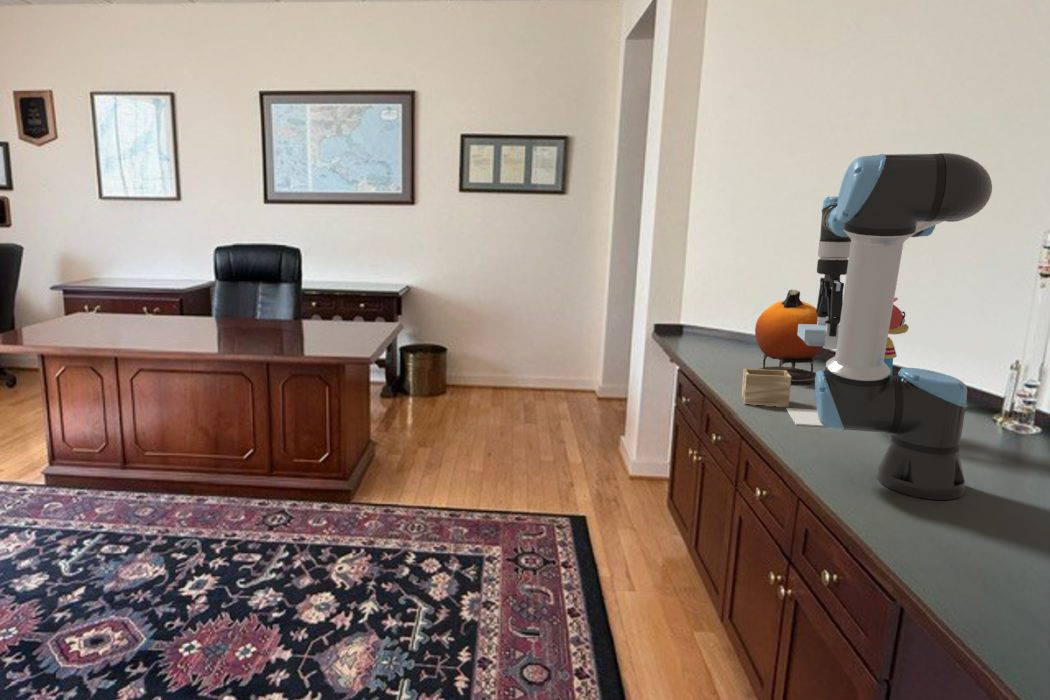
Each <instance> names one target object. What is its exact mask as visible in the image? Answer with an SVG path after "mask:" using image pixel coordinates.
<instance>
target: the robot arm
mask: <svg viewBox="0 0 1050 700" xmlns="http://www.w3.org/2000/svg"><path fill="white" fill-rule="evenodd" d="M992 192H993V184H992V179H991V177H990V174H989V172H988V170H987V169H985V167H984V166H983V165H981V164H980V163H979V162H978V161H976V160H975V159H972V158H970V157H969V156H965V155H961V154H958V153H950V152H940V153H910V154H909V153H907V154H905V153H901V154H896V153H895V154H889V153H888V154H884V153H881V154H875V155H864V156H859V157H857V158H855V159H854V160H853V161H852V162H851V163H850V164H849V166H848V167H847V169H846V171H845V173H844V176H843V179H842V181H841V185H840V188H839V192H838V195H837V196H827V197H825V198H823V202H822V203H823V204H822V208H821V220H820V221H821V223H820V233H819V234H820V236H819V241H818V251H817V257H819V259H818V260H817V265H816V273H817V274H819V275H824V277H820V280H819V283H820V284H819V290H818V291H819V292H818V298H817V305H816V308H817V310H816V313H818V314H817V315H818V321H817V325H826V335H825V345H824V347H823V348H824V349H825V350H826V349H827V350H828V349H829V350H835V355H834V356H833V357H831V358H829V359H828V360H827V361H826V363H825V367H824V368H825V369H823V370H822V369H821V370H817V371H816V372H815V373H816V376H815V383H814V390H815V392H814V394H815V404H816V410H817V413H818V418H819V421H820V422H821V424H822V425H823V426H825V428H830V429H837V430H838V429H839V430H842V431H846V430H847V431H857V432H859V431H860V432H867V433H868V432H870V433H882V434H883V433H884V434H885V433H886V434H891V439H890V444H888V448H887V449H886V452H885V453H884V455H883V457H882V458H881V461H880V462H879V464H878V467H877V472H876V478H877V480H878V482H879V483H880V484H882V485H883V486H885V487H886V488H888V489H890V490H892V491H895V492H898V493H901V494H903V495H906V496H911V497H913V498H914V497H915V498H920V499H924V500H925V499H927V500H933V501H934V500H936V501H949V500H956V499H959V498H962V497H963V496H964V494H965V489H966V479H965V476H964V470H963V466H962V463H961V459H960V447H961V446H960V445H961V440H962V432H963V427H964V419H965V414H966V409H967V408H968V403H967V401H968V400H967V398H968V397H967V396H968V387H967V386H966V384H965V383H964V382H963V381H962V380H961V379H959V378H957V377H954V376H951V375H948V374H946V373H943V372H942V373H941V372H938V371H934V370H929V369H923V368H917V367H902V368H900V370H899V371H898V373H897V375H893V374H892V375H890V374H891V370H890V368H889V367H888V366H887V365H886V364H885V363H884V356H885V350H886V344H887V338H888V337H889V334H888V332H889V326H890V320H891V314H892V309H893V305H894V303H895V302H894V298H896V295H895V294H896V290H897V285H898V277H899V273H900V266H901V261H902V256H903V255H902V254H903V250H904V249H903V248H904V244H905V242H906V241H907V240H908V239H910V238H918V237H928V236H929V237H930V236H931V234H933V232H934V230H935V229H936V227H937V226H936V225H938V224H939V225H940V224H941V223H943V222H948V223H950V222H953V223H954V222H960V221H964V220H965V219H966V220H967V219H968V218H971V217H973V216H975V215H977V214H978V213H979V212H980V211H982V210H983V209H984V207H986V205H987V204H988V202H989V200H990V198H991V195H992ZM844 275H846V276H845V283H844V282H842V281H841V276H844ZM839 325H840V326H839ZM838 327H839V333H838ZM837 337H838V340H837Z"/></svg>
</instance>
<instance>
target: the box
mask: <svg viewBox="0 0 1050 700" xmlns="http://www.w3.org/2000/svg"><path fill="white" fill-rule="evenodd" d="M742 370H743V371H742V383H741V384H742V387H741V397H742V398H741V400H742V399H743V400H742V402H744V403H743V405H744V404H752V405H751V406H756V405H766V406H765V407H773V406H776V407H777V408H790V406H789V405H790V395H791V385H792V384H791V376H790V375H789V373H788V372H787V371H786V370H764V369H760V368H743V369H742ZM753 404H754V405H753Z"/></svg>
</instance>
